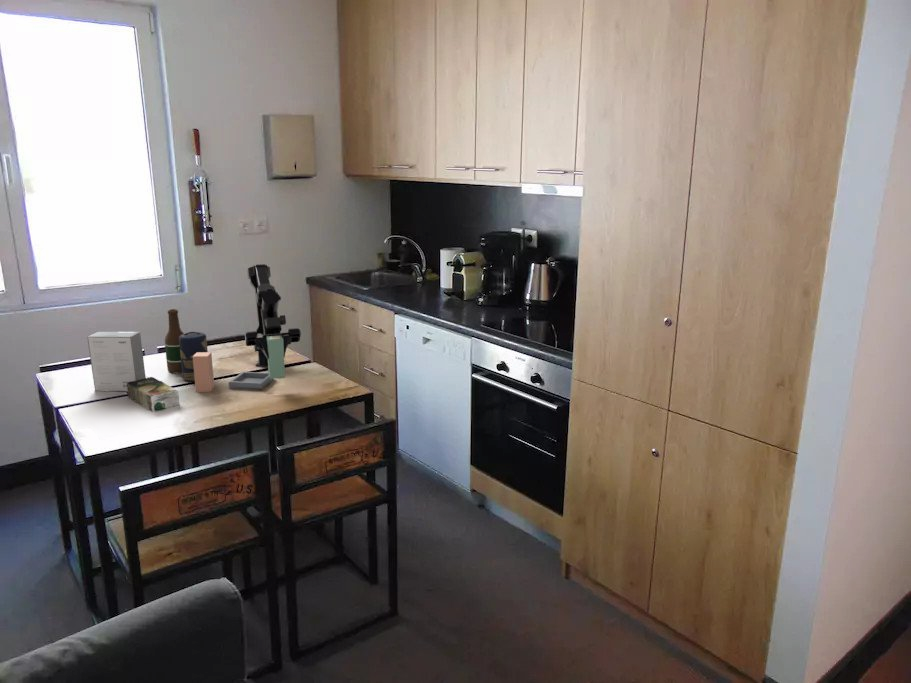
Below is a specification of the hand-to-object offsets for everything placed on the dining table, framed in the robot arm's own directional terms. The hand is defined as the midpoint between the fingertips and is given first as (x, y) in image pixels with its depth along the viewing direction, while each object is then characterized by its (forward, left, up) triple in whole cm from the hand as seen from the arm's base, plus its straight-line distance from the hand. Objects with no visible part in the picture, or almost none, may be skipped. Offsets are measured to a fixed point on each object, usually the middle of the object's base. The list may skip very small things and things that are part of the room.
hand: (276, 357), depth 236 cm
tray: (-7, -13, -13) cm, 19 cm away
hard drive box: (+4, -57, -13) cm, 58 cm away
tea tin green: (-1, -1, -7) cm, 7 cm away
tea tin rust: (+1, -27, -13) cm, 30 cm away
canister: (-10, -35, -13) cm, 39 cm away
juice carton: (+15, -38, -13) cm, 43 cm away
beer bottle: (-18, -47, -13) cm, 52 cm away
